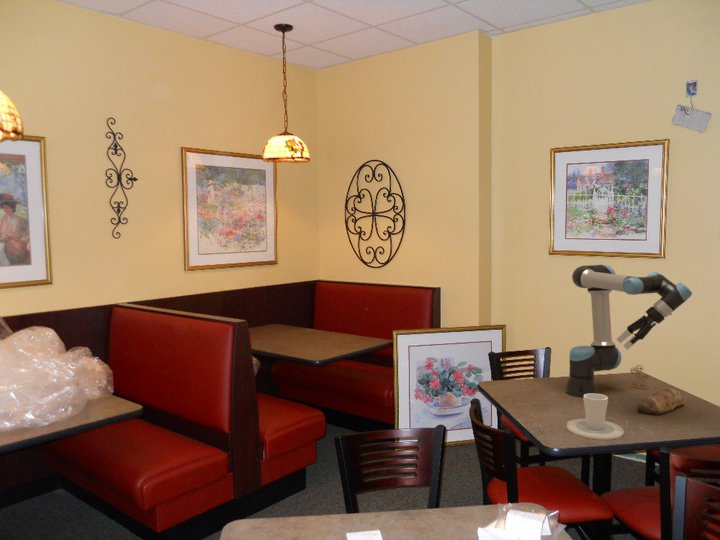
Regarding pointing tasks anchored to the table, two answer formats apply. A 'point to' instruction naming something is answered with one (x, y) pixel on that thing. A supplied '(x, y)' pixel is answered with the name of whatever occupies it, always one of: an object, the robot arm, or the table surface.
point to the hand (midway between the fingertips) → (621, 344)
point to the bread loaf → (661, 402)
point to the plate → (607, 433)
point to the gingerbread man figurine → (639, 381)
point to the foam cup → (595, 410)
